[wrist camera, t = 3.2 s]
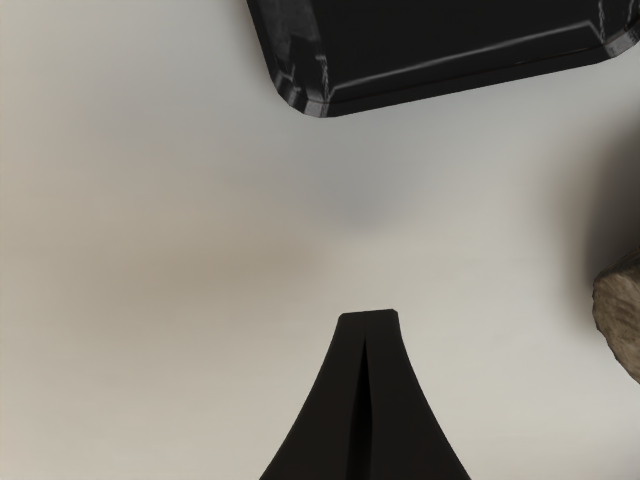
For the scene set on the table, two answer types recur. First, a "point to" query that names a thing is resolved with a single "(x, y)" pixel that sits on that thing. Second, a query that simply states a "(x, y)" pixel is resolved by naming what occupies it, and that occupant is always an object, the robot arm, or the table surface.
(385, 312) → the robot arm
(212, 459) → the table surface
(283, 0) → the phone
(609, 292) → the fossilized seashell
